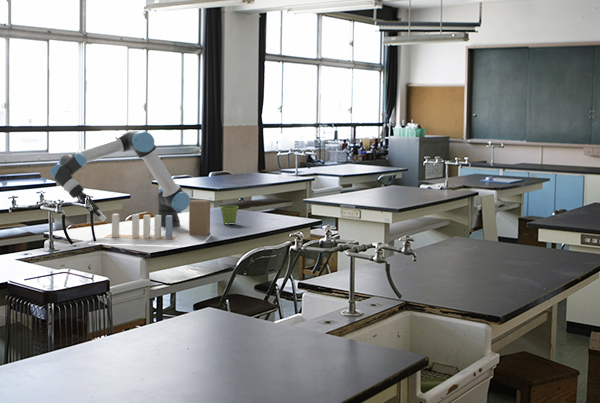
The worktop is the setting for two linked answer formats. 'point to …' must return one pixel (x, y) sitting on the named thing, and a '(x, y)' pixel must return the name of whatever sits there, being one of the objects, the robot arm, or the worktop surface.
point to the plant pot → (229, 213)
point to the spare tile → (115, 225)
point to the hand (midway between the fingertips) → (104, 220)
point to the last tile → (168, 226)
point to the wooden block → (199, 217)
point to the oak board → (140, 237)
